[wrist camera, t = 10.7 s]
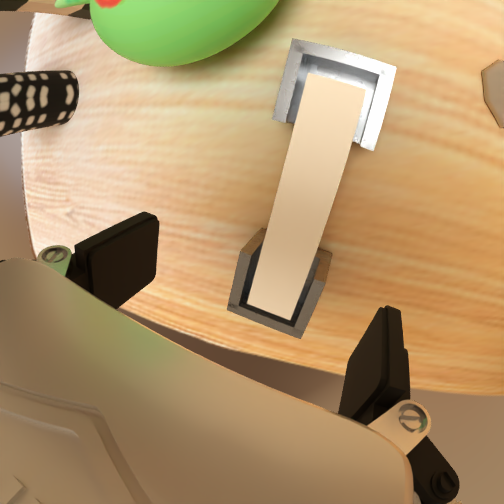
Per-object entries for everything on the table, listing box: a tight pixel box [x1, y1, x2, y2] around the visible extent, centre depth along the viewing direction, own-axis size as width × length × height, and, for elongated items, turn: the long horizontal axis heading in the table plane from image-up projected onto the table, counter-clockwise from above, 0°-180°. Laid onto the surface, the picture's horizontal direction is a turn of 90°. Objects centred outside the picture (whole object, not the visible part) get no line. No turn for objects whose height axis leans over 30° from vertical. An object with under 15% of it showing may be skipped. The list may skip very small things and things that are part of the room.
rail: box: [247, 73, 367, 320], centre depth 23 cm, size 4×19×5 cm, turn 167°
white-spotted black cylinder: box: [0, 71, 79, 137], centre depth 23 cm, size 8×8×20 cm
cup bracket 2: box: [272, 39, 397, 151], centre depth 20 cm, size 8×6×6 cm
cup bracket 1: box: [227, 228, 332, 339], centre depth 28 cm, size 8×6×6 cm
